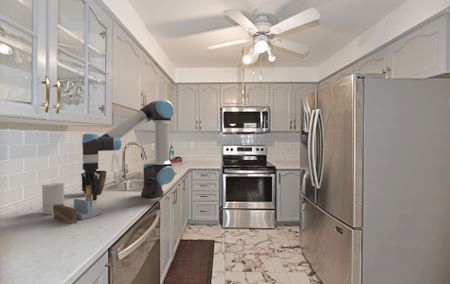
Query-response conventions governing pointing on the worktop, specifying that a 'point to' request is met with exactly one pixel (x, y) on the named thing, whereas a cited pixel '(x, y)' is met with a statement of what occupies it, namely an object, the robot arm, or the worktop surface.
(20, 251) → the worktop surface
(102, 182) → the plant pot
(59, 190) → the skincare box
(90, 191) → the dowel
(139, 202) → the worktop surface
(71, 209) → the board
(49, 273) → the worktop surface
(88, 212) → the fork block
